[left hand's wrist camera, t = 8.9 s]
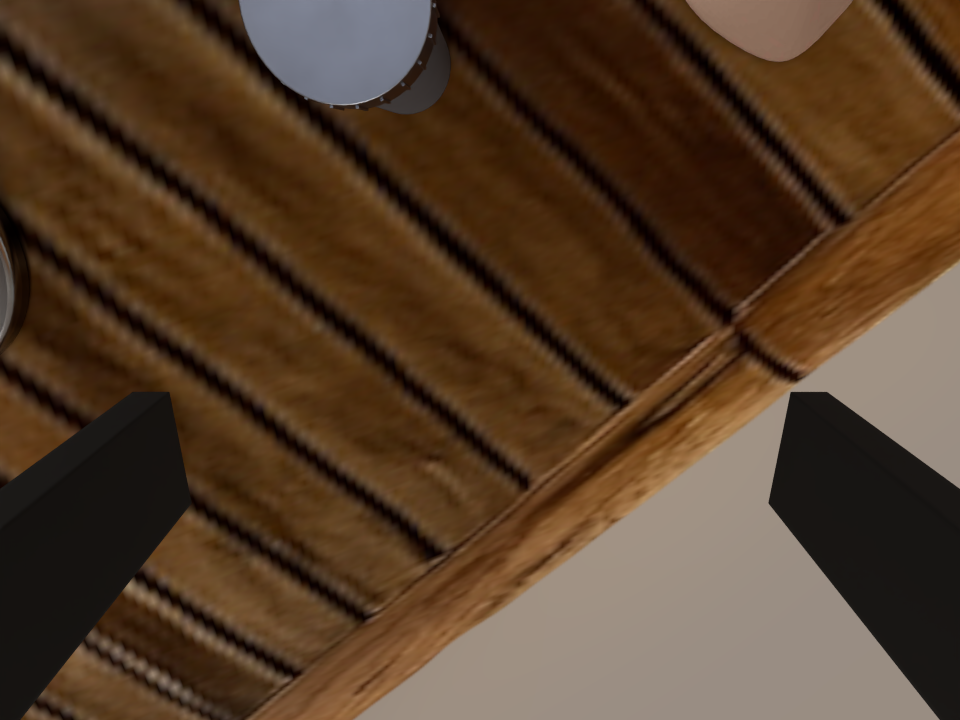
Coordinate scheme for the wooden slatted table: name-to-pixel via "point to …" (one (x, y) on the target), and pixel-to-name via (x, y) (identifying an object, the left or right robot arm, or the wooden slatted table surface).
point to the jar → (425, 82)
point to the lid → (343, 46)
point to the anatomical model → (770, 23)
